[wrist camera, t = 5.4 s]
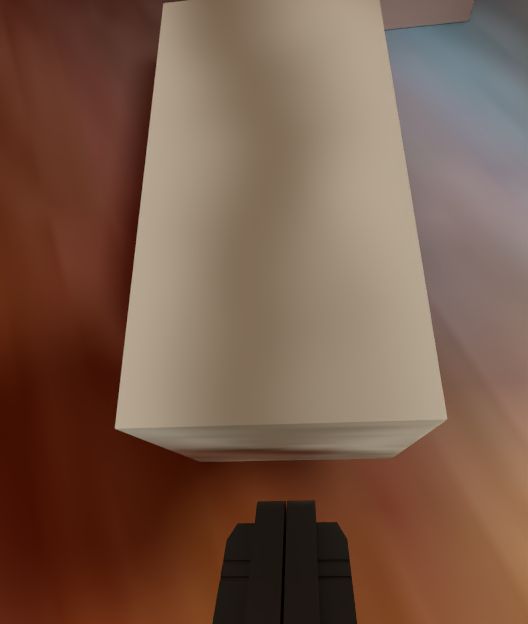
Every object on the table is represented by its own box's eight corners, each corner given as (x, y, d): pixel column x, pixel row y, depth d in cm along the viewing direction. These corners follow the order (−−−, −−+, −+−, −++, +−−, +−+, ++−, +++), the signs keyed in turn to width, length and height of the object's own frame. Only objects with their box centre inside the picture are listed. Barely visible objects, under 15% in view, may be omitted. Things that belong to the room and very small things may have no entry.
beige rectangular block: (357, 152, 22) (375, -23, 15) (391, 458, 17) (447, 419, 9) (213, 164, 23) (163, 3, 16) (201, 462, 17) (114, 428, 10)
